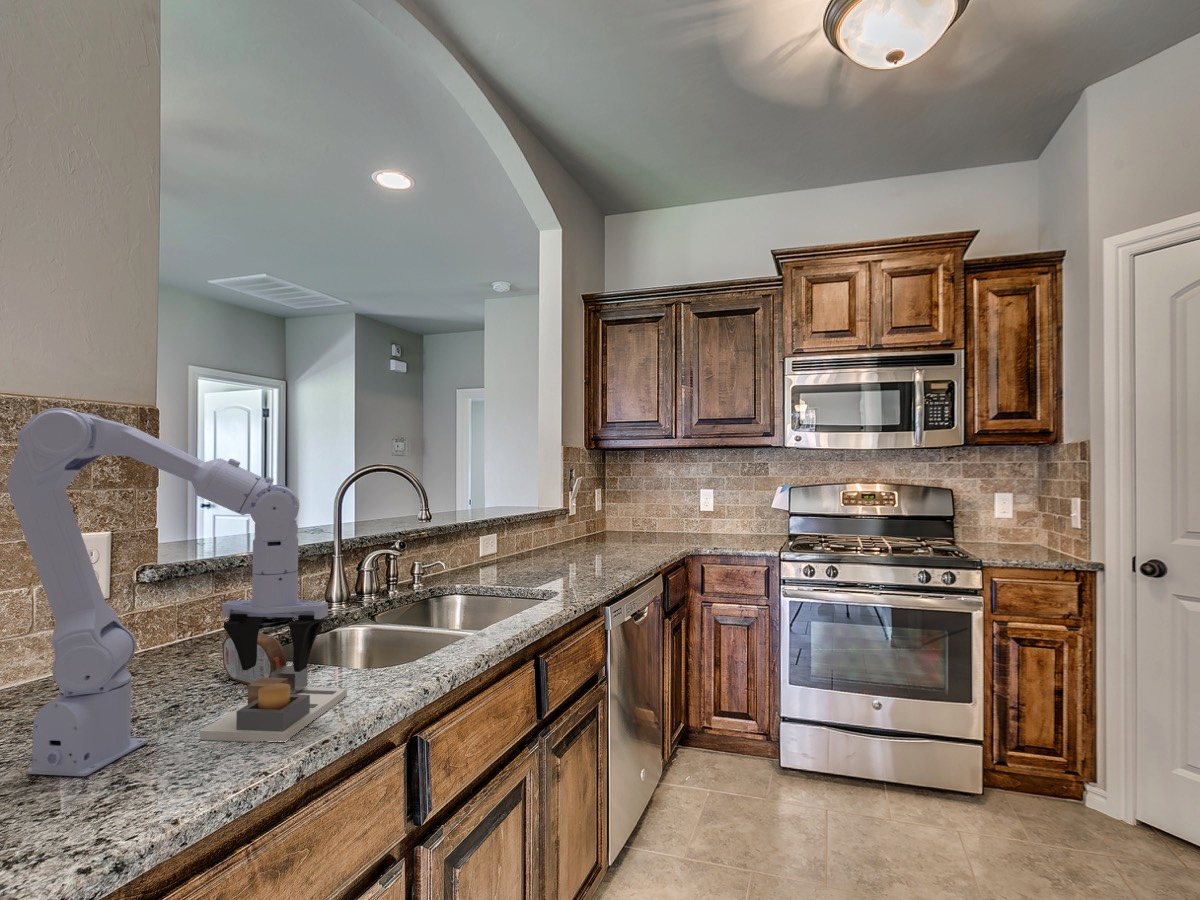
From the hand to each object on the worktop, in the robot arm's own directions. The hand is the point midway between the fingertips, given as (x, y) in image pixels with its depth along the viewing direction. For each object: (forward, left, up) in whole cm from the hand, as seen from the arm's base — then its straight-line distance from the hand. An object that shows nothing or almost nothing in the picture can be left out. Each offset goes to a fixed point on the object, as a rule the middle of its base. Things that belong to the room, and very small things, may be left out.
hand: (274, 668), depth 89 cm
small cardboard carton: (+5, +5, -7) cm, 10 cm away
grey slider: (+11, +5, -7) cm, 14 cm away
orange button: (0, 0, -5) cm, 5 cm away
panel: (+4, +2, -8) cm, 10 cm away
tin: (+17, +15, -9) cm, 25 cm away
